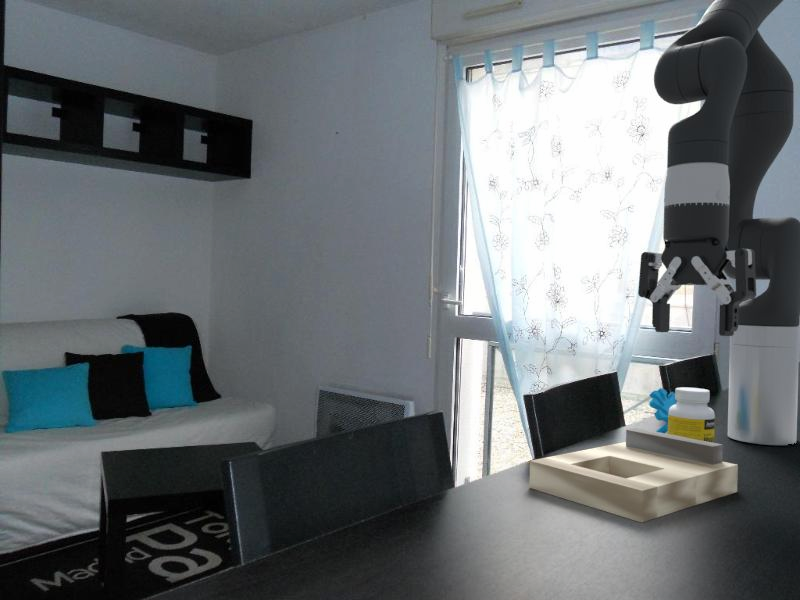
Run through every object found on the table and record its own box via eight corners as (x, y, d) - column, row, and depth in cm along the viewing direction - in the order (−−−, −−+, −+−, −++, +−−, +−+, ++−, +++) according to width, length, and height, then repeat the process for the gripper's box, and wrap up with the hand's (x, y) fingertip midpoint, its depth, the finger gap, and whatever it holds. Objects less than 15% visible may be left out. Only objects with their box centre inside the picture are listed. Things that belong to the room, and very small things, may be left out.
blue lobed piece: (681, 440, 96) (643, 382, 103) (652, 464, 99) (617, 407, 106) (727, 442, 102) (688, 388, 109) (698, 465, 106) (662, 411, 112)
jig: (626, 465, 88) (627, 425, 88) (737, 491, 77) (738, 446, 77) (529, 487, 77) (530, 442, 77) (641, 522, 66) (642, 469, 66)
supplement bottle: (710, 475, 84) (712, 393, 84) (662, 468, 87) (664, 389, 87) (716, 466, 89) (718, 388, 89) (671, 460, 92) (673, 385, 92)
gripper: (769, 201, 84) (765, 337, 84) (661, 211, 95) (658, 330, 96) (737, 195, 80) (734, 338, 80) (628, 206, 91) (625, 331, 91)
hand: (692, 333), depth 88 cm, fingers open, 8 cm apart
